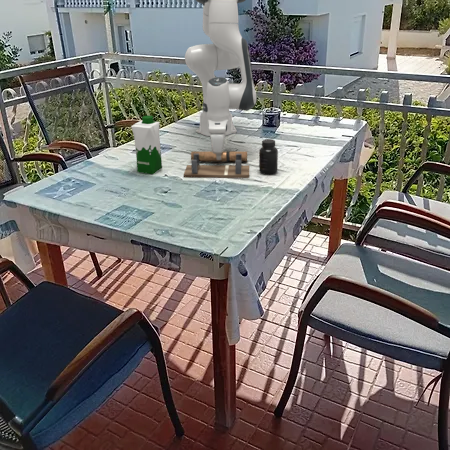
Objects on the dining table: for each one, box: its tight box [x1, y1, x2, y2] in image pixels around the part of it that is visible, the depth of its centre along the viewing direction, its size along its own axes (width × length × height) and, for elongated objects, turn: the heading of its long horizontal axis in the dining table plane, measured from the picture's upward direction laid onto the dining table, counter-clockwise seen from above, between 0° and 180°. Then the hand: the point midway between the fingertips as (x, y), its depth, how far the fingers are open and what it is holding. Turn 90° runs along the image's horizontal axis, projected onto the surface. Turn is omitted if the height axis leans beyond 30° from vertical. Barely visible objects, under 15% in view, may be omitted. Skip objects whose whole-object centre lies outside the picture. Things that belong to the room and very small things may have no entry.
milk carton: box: [130, 115, 163, 175], centre depth 177 cm, size 9×9×20 cm
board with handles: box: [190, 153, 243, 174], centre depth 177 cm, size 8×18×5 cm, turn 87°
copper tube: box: [190, 150, 248, 163], centre depth 188 cm, size 22×4×4 cm, turn 87°
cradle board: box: [183, 164, 251, 179], centre depth 178 cm, size 10×24×1 cm, turn 87°
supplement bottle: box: [258, 138, 279, 176], centre depth 176 cm, size 7×7×12 cm
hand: (219, 157), depth 188 cm, fingers open, 4 cm apart
